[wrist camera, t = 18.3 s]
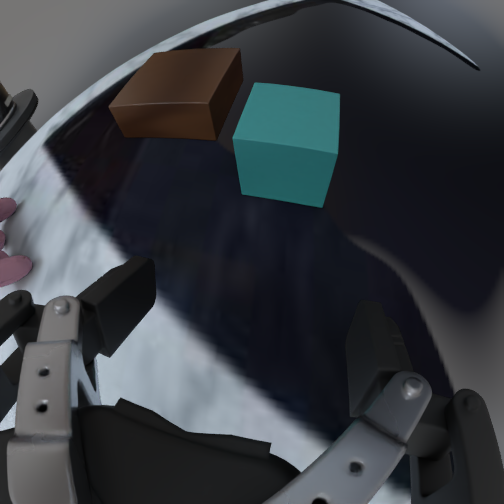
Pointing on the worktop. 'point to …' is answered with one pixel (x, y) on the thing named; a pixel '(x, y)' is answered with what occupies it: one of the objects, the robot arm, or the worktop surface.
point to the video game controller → (4, 267)
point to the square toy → (287, 143)
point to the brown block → (180, 94)
